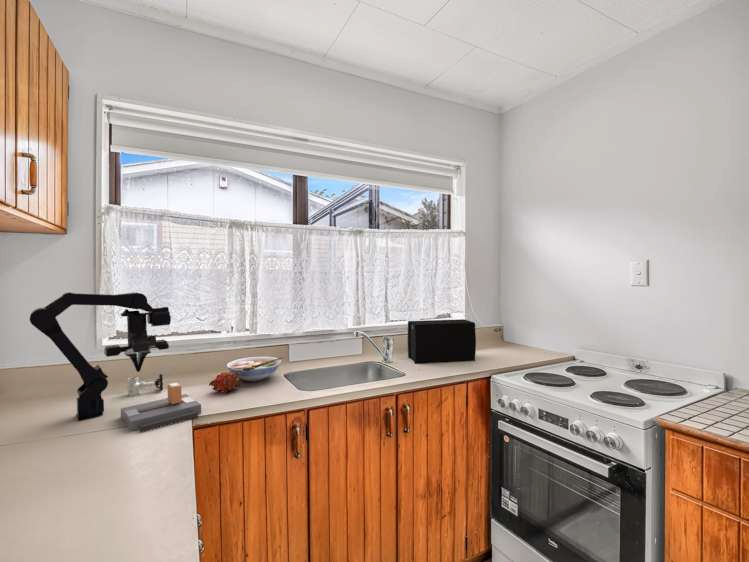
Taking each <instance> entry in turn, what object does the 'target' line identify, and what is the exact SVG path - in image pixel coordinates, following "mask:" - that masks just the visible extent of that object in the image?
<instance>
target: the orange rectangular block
mask: <svg viewBox="0 0 749 562" xmlns="http://www.w3.org/2000/svg"><path fill="white" fill-rule="evenodd" d="M181 395H182V385H181V384H180V383H178V382H173V383H172V382H171V383H168V384H167V398H168V402H170V403H171V404H175V403H180V402H182V398H181Z"/></svg>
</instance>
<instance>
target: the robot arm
mask: <svg viewBox="0 0 749 562" xmlns="http://www.w3.org/2000/svg"><path fill="white" fill-rule="evenodd" d="M71 306H113V307H115V306H116V307H121V308H125V309H124V311H122V313H120V316H121V317H126V318H127V320H126V321H127V324H126V326H127V345H125V346H120V345H119V344H114V345H113V344H112V345H106V346H105V347H104V350H103V351H104V355H105V356H106V357H107V358H108V357H109V358H110V357H114V356H119V355H121V353H123V354H124V355H125V356H126V357H129V359H130V360H131V362H132V364H133V367H134V369H135V371H136V373H140V371H141V369H142V367H143V363H144V361H145V359H146V357H147V355H148V354H149V355H150V354H151V353H152V351H150V350H151V349H158V350H159V351H161V350H167V349H169V348H170V347H169V346H170V344H169V341H167V340H166V339H163V338H162V339H157V338H156V337H157V336H156V335H149V336H148V329H147V324H148V325H150V326H151V327H161V326H170V325H171V320H172V316H171V314H170V310H169V307H168V306H163V307H154V308H153V306H151V304H149V303H148V298H147V296H146V295H145V294H144V293H140V292H126V293H125V292H124V293H120V294H119V293H117V294H103V293H102V294H101V293H97V294H96V293H95V294H94V293H79V292H78V293H73V292H64V293H63V294H61V296H59V297H58V298H57V299H55V300H54V301H52V302H51V303H49V304H47V305H46V306H44V307H39V308H35V309H34V310H32V311H31V313H30V315H29V322H30V324H31V325H32V326H33V327H35V328H36V329H37V330H38V331H39V332H41V333H42V334H44V335H45V336H46V337H47V338H49V339H50V340H51V341H52V342H53V344H54V345H55V346H56V347H57V349H58V350H60V353H62V355H63V356H64V357H65V358H66V359H67V361H69V363H70V364H71V365H72V366H73V367H74V369H75V370H76V371H77V372H78V374H79V376H80V378H81V380H82V382H83V383H82V384H81V385H80V386H79V387H78V388H77V389H76V393H77V395H78V397H76V413H75V416H76V418H77V420H78V421H82V420H86V419H92V418H96V417H100V416H103V415H104V412H105V405H104V404H105V403H104V402H105V401H104V398H103V397H102V392H104V391H105V390H106V389H107V387H108V385H109V380H108V379H107V378H109V376H108V375H107V374H106V372H104V371H103V369H102V367H101V366H100V365H99V364H97V365H96V366H93V365H92V364H91V363H90V362H89V361H88V360H87V359H86V357H84V355H83V354H82V352H80V350H79V349H78V347H76V346H75V344H74V343H73V342H72V341H71V339H70V338H69V337H68V336H67V334H66V333H65V332H64V331H63V328H62V326H61V325H60V323H59V321H58V319H57V317H58V316H60V315H61V314H62V313H63V312H65V311H66V310H67V309H68V308H70V307H71ZM129 309H132V310H129ZM140 310H141V311H143V312H140Z"/></svg>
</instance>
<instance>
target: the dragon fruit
mask: <svg viewBox="0 0 749 562" xmlns="http://www.w3.org/2000/svg"><path fill="white" fill-rule="evenodd" d="M241 382H242V379H241V378H240V376H238V374H236V373H235V374H234V373H233V372H231V371H230V370H229V371H228V372H225V371H222V372H221V373H220V374H217V375H216V377H215V378H214V379H213V380H211V381H210V382H209V384H208V386H211V387H212V390H213V391H215V392H220V391H223V393H224V394H226V393H228V392H230V391H231V392H233V391H234V389H236V388H239V387H240V386H241Z"/></svg>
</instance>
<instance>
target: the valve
mask: <svg viewBox="0 0 749 562" xmlns="http://www.w3.org/2000/svg"><path fill="white" fill-rule="evenodd" d="M163 378H164V377H163V374H162V373H161V374H159V375H158V378H157V379H156V380H154V382H153V381H148V382H146V381H144V380H141V381H140V380H139V379H140V378H139V377H138V376H132V377H128V378H126V383H127V385H126V390H127V391H126V392H127V395H129V396H128V397H134V396H133V395H136V396H138V395H140V390H145V388H147V387H148V388H149V387H153V386H155V387H156V388H157V389H159V391H160V390H163V391H164V387H163V386H164V382H163V380H164V379H163ZM137 394H138V395H137Z"/></svg>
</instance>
